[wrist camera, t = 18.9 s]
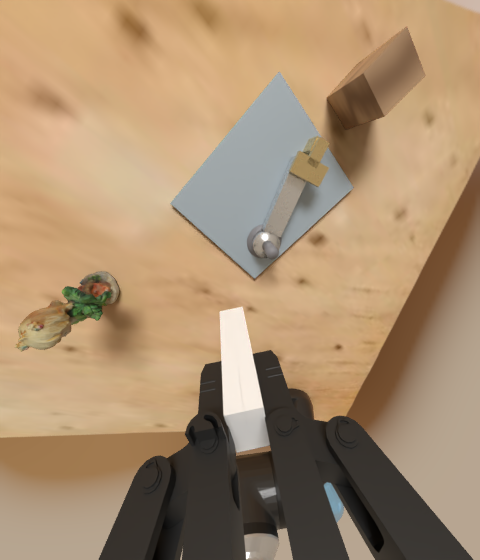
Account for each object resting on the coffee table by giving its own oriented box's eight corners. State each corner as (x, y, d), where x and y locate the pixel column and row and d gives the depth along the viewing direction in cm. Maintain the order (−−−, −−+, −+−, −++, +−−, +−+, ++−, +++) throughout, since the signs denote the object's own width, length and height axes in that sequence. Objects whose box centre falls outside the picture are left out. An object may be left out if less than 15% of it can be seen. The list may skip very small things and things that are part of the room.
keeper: (324, 150, 32) (340, 147, 28) (306, 185, 34) (318, 186, 30) (298, 134, 30) (310, 128, 26) (280, 171, 32) (290, 171, 28)
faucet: (270, 257, 37) (273, 261, 36) (247, 249, 36) (249, 253, 35) (312, 167, 32) (318, 166, 30) (287, 154, 30) (291, 153, 29)
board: (350, 187, 35) (380, 190, 28) (253, 276, 40) (261, 295, 34) (277, 74, 27) (296, 44, 21) (171, 202, 33) (161, 209, 26)
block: (374, 99, 30) (425, 75, 22) (345, 129, 31) (384, 116, 24) (357, 64, 28) (407, 26, 21) (326, 97, 29) (363, 73, 22)
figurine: (96, 308, 40) (37, 377, 26) (66, 275, 36) (-20, 335, 23) (139, 290, 39) (100, 351, 26) (113, 255, 35) (52, 304, 22)
